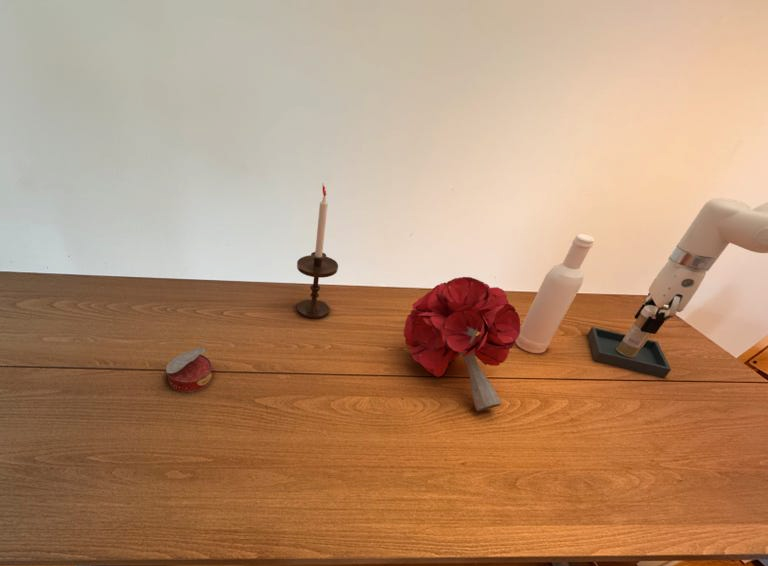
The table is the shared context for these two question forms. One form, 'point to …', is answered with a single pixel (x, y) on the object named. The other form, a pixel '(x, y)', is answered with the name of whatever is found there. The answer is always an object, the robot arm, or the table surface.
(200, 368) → the canned food
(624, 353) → the sprinkles bottle
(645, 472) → the table surface
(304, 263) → the candlestick
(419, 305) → the bouquet
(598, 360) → the serving tray
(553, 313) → the bottle
